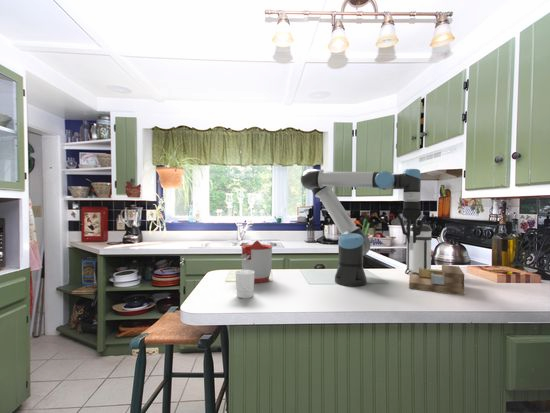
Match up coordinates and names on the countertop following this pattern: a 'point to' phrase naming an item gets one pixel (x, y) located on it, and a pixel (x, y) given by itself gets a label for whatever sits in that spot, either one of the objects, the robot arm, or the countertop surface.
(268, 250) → the citrus juicer
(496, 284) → the countertop surface
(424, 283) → the socket block
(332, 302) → the countertop surface
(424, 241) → the coffee press
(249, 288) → the white cup
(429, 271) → the brass plug
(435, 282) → the grey steel plug
